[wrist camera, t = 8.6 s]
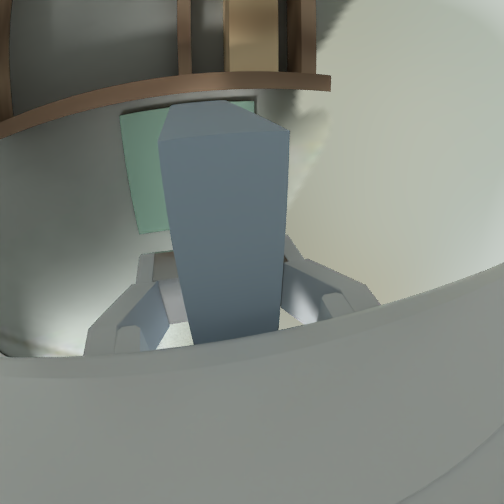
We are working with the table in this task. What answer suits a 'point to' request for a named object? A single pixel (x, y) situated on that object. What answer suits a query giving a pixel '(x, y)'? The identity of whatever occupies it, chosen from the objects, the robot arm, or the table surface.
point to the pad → (148, 165)
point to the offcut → (250, 35)
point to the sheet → (226, 215)
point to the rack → (296, 77)
